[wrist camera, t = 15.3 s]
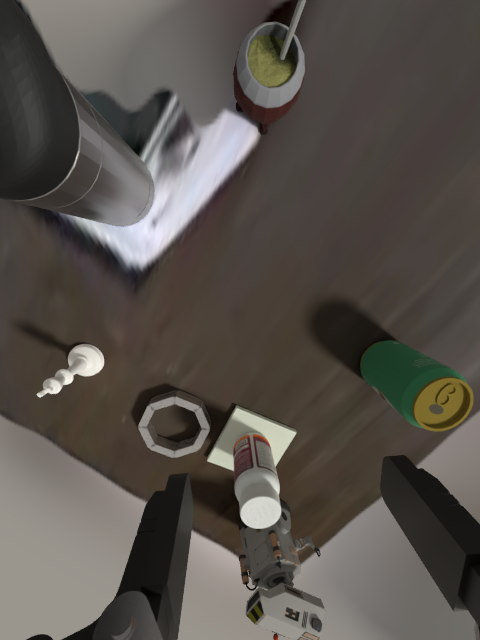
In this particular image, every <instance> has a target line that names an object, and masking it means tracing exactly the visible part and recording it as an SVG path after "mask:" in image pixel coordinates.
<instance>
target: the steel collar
mask: <svg viewBox="0 0 480 640" xmlns="http://www.w3.org/2000/svg"><path fill="white" fill-rule="evenodd" d="M173 404H176V405H179V406H181V407H184V408H186V409H189V410H191V411H194V412H195V414H196V416H197V419H198V421H199V423H200V428H199V430H198V432H197V434H196V435H195V437H192V438H189V439H185V440H182V441H179V442H174V441H172V440H169V439H166V438H164V437H161V436H158V434H157V432H156V430H155V428H154V426H153V424H152V422H151V420H150V419H151V417H152V414H153V412H154V410H157V409H160V408H164V407H167V406H170V405H173ZM210 425H211V419H210V417H209V415H208V412H207V410H206V408H205V405H204V403H203V400H202V401H201V399H200V398H197V397H195V396H192V395H190V394H188V393H185V392H183V391H180V390H178V391H177V390H173V391H170V392H167V393H164V394H161V395H158V396H155V397H153V398H151V400H150V402H149V404H148V406H147V408H146V410H145V412H144V415H143V417H142V419H141V421H140V423H139V425H138V426H139V427H138V429H139V431H140V433H141V435H142V437H143V439H144V441H145V442H146V444H147V446H148V448H150V450H153V451H156V452H158V453H161V454H164V455H167V456H169V457H172V458H173V457H175V458H176V457H180V456H183V455H186V454H189V453H192V452H195V451H198V449H200V448H201V446H202V444H203V442H204V440H205V438H206V437H207V435H208V433H209V431H210Z"/></svg>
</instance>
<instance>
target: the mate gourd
mask: <svg viewBox="0 0 480 640" xmlns="http://www.w3.org/2000/svg"><path fill="white" fill-rule="evenodd" d="M305 2H306V0H299V1H298V3H297V6H296V9H295V12H294V15H293V18H292V21H291V24H290V27H289V28H288V27H287V26H285V25H283V24H281V23H278V22H268V23H263V24H261V25H259V26H258V27H256V28H255V29H253V30H252V31H250V32H249V33H248V35H247V36H246V38H245V39H244V41H243V42H242V44H241V45H240V48H239V51H238V55H237V59H236V63H235V67H234V73H233V75H234V95H235V98H236V101H237V103H236V109H237V111H244V112H245V113H246V114H247V115H248V116H249V117H250V118H251V119H252V120H254V121H257V122H259V123H260V132H261V134H262V135H265V134H267V128H268V127H269V126H270V124H271V123H273V122H275V121H277V120H278V119H280V118H281V117H283V116H284V115H285V114H287V113H288V111H289V110H290V109H291V107H292V106H293V105H294V103H295V102H296V100H297V99H298V96H299V93H300V89H301V86H302V83H303V79H304V73H305V65H304V53H303V50H302V48H301V45H300V42H299V40H298V38H297V37H296V35H295V34H294V32H295V29H296V26H297V24H298V21H299V18H300V16H301V13H302V10H303V7H304V5H305Z"/></svg>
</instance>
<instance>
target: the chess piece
mask: <svg viewBox="0 0 480 640" xmlns="http://www.w3.org/2000/svg"><path fill="white" fill-rule="evenodd" d="M68 363H69V366H70V367H69V368H68V369H67V370H66V369H61V370H59V371H57V373H56V374H55V377H53V378H49V379H47V380H45V381H44V383H43V388H44V390H42V391H41V392H39V393H37V396H38V397H39V398H40V397H42V396H44V395H45V394H46V393H50V394H56V393H58V392H59V391H60V390H61V389H62V386H63V385H67V384H70V383H71V382H72V381H73V375H75V374H79V375H82V376H92V375H94V374H96V373H98V372H99V371H100V370H101V369H102V368H103V365H104V357H103V355H102V353H101V351H100V350H99V349H98V348H96V347H95V346H92V345H89V344H80V345H78V346H76V347H74V348H73V349H72V350H71V351H70V353H69V355H68Z"/></svg>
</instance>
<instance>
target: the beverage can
mask: <svg viewBox="0 0 480 640" xmlns="http://www.w3.org/2000/svg"><path fill="white" fill-rule="evenodd" d="M360 369H361V374H362V377H363V379H364V380H365V381H366V383H367V384H369V385H370V386H371V387H372V388H373V389H374V390H375V391H376V392H377V393H378V394H379V395H380V396H381V397H383V398H384V399H385V400H386V401H387V402H388V403H389V404H390V405H391V406H392V407H393V408H394V409H395V410H397V411H398V412H399V413H400V414H401V415H402V416H403V417H404V418H405V419H406V420H407V421H408V422H410V423H411V424H413V425H414V426H417V427H420V428H425V429H427V430H430V431H445V430H448V429H451V428H453V427H455V426H457V425H458V424H459V423H461V422H462V421H463V420H464V419H465V418H466V417H467V415H468V414H469V412H470V410H471V408H472V405H473V392H472V390H471V388H470V387H469V385H468V384H467V383H466V381H465V379H464V378H463V376H462V375H461V374H460V373H458V372H456V371H455V370H453V369H451V368H449V367H447V366H445V365H443V364H441V363H439V362H437V361H435V360H433V359H431V358H430V357H428V356H426V355H424V354H422V353H420V352H418V351H416V350H414V349H412V348H410V347H408V346H406V345H404V344H402V343H400V342H398V341H393V340H388V341H381V342H377V343H375V344H373V345H371V346H370V347H369V348H368V349H367V350H366V351H365V352H364V354H363V355H362V358H361V361H360Z"/></svg>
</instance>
